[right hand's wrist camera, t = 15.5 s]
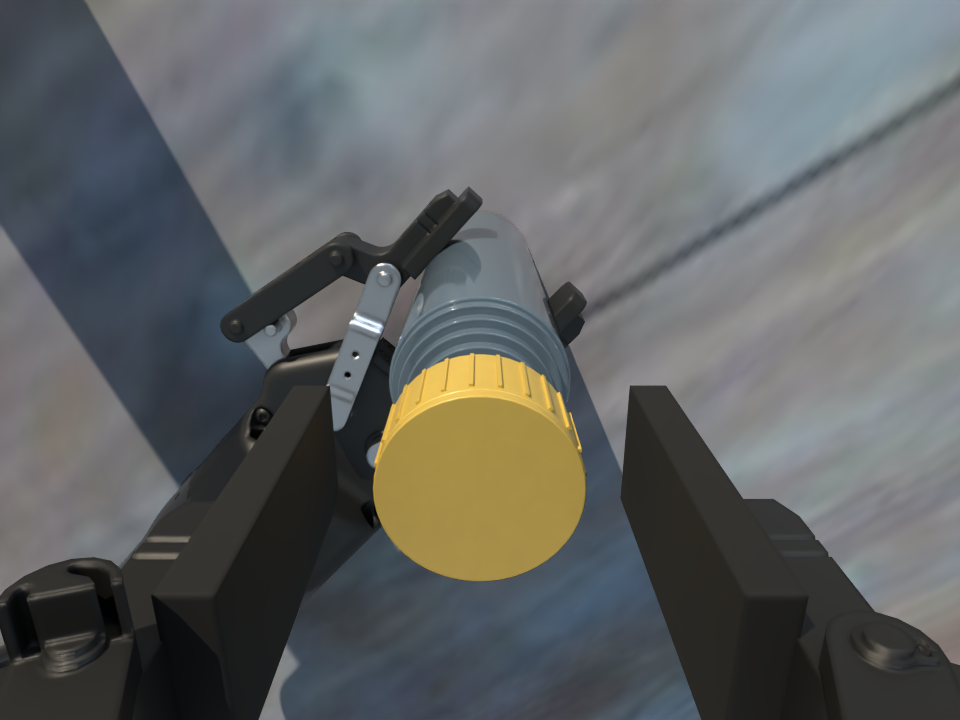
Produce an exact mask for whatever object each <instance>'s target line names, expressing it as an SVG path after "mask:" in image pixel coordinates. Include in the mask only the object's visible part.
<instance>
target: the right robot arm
mask: <svg viewBox="0 0 960 720" xmlns="http://www.w3.org/2000/svg"><path fill="white" fill-rule="evenodd" d="M338 500H339V488H338V476H337V464H336V452H335V440H334V428H333V416H332V404H331V392H330V386H293V388H292V389H291V391H290V392H289V394H288V395H287V397H286V398H285V400H284V401H283V403H282V404H281V406H280V407H279V408H278V410H277V411H276V413H275V414H274V416H273V417H272V419H271V420H270V422H269V423H268V425H267V426H266V428H265V429H264V431H263V432H262V433H261V435H260V436H259V438H258V439H257V441H256V442H255V444H254V445H253V447H252V448H251V450H250V451H249V453H248V454H247V455H246V457H245V458H244V460H243V461H242V463H241V464H240V466H239V467H238V469H237V470H236V472H235V473H234V475H233V476H232V477H231V479H230V480H229V482H228V483H227V485H226V486H225V488H224V489H223V491H222V492H221V494H220V495H219V497H218V498H217V499H216V501H186V502H185V503H183V504H182V505H180V506H179V507H177V508H176V509H174V510H173V511H171V512H170V513H168V514H167V515H165V516H164V517H162V518H161V519H160V520H159V522H158V523H157V524H156V526H155V527H154V528H153V529H152V531H151V532H150V533H149V534H148V536H147V537H146V538H145V542H142V543H141V545H140V546H139V547H138V548H137V550H136V551H135V552H134V554H133V555H132V559H129V560H128V561H127V562H126V564H125V565H124V566H123V568H122V569H120V568H119V567H118V566H117V565H115V564H114V563H113V562H112V561H109V560H104V559H99V558H94V557H92V558H79V559H70V560H66V561H63V562H59V563H55V564H51V565H48V566H45V567H43V568H41V569H39V570H37V571H35V572H32V573H30V574H28V575H26V576H24V577H23V578H21V579H20V580H18V581H17V582H15V583H14V584H13V585H11V586H10V587H8V588H7V589H6V590H5V591H4V592H3V593H2V594H1V596H0V630H1V633H2V636H3V640H4V643H5V646H6V649H7V653H8V656H9V659H10V665H9V666H7V667H3V668H0V720H258V719H259V717H260V714H261V711H262V709H263V706H264V703H265V700H266V698H267V695H268V692H269V689H270V687H271V684H272V681H273V678H274V676H275V673H276V670H277V667H278V665H279V662H280V659H281V656H282V654H283V651H284V648H285V646H286V643H287V640H288V637H289V635H290V632H291V629H292V626H293V624H294V621H295V618H296V615H297V613H298V610H299V607H300V604H301V602H302V599H303V596H304V594H305V591H306V588H307V585H308V583H309V580H310V577H311V574H312V572H313V569H314V566H315V563H316V561H317V558H318V555H319V552H320V550H321V547H322V544H323V541H324V539H325V536H326V533H327V531H328V528H329V525H330V522H331V520H332V517H333V514H334V511H335V509H336V506H337V503H338ZM621 500H622V503H623V506H624V509H625V511H626V514H627V517H628V520H629V522H630V525H631V528H632V531H633V533H634V536H635V539H636V541H637V544H638V547H639V550H640V552H641V555H642V558H643V561H644V563H645V566H646V569H647V572H648V574H649V577H650V580H651V583H652V585H653V588H654V591H655V594H656V596H657V599H658V602H659V604H660V607H661V610H662V613H663V615H664V618H665V621H666V624H667V626H668V629H669V632H670V635H671V637H672V640H673V643H674V646H675V648H676V651H677V654H678V657H679V659H680V662H681V665H682V667H683V670H684V673H685V676H686V678H687V681H688V684H689V687H690V689H691V692H692V695H693V698H694V700H695V703H696V706H697V709H698V711H699V714H700V717H701V719H702V720H960V665H957V664H953V663H950V661H949V660H948V658H947V657H946V655H945V654H944V652H943V651H942V650H941V648H940V647H939V645H938V644H936V643H935V642H934V641H933V640H931V639H930V638H929V637H928V636H927V635H925V634H924V633H923V632H922V631H920V630H919V629H917V628H915V627H913V626H911V625H909V624H907V623H905V622H903V621H901V620H899V619H897V618H894V617H890V616H887V615H884V614H880V613H877V612H875V611H874V610H873V609H872V607H871V606H870V605H869V604H868V602H867V601H866V600H865V599H864V597H863V596H862V595H861V594H860V592H859V591H858V590H857V589H856V587H855V586H854V585H853V583H852V582H851V581H850V580H849V578H848V577H847V576H846V575H845V573H844V572H843V571H842V570H841V568H840V567H839V566H838V565H837V563H836V562H835V561H834V559H833V558H832V557H829V556H828V552H827V551H826V549H825V548H824V547H823V546H822V544H821V543H820V542H819V541H818V540H815V535H814V534H813V533H812V532H811V530H810V529H809V528H808V527H807V525H806V524H805V523H804V522H803V520H802V519H801V518H800V516H798V515H797V514H795V513H794V512H792V511H791V510H789V509H788V508H786V507H785V506H783V505H782V504H780V503H779V502H777V501H776V500H774V499H743V498H742V497H741V495H740V494H739V492H738V491H737V489H736V488H735V486H734V485H733V483H732V482H731V480H730V479H729V477H728V476H727V475H726V473H725V472H724V470H723V469H722V467H721V466H720V464H719V463H718V461H717V460H716V458H715V457H714V455H713V454H712V453H711V451H710V450H709V448H708V447H707V445H706V444H705V442H704V441H703V439H702V438H701V436H700V435H699V433H698V432H697V431H696V429H695V428H694V426H693V425H692V423H691V422H690V420H689V419H688V417H687V416H686V414H685V413H684V411H683V410H682V409H681V407H680V406H679V404H678V403H677V401H676V400H675V398H674V397H673V395H672V394H671V392H670V391H669V389H668V388H667V386H630V391H629V404H628V416H627V428H626V440H625V452H624V464H623V476H622V488H621Z"/></svg>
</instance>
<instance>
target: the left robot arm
mask: <svg viewBox="0 0 960 720" xmlns="http://www.w3.org/2000/svg"><path fill="white" fill-rule="evenodd" d="M481 205H482V198H481V197H480V196H478V195H477V194H476V193H475V192H474V191H473V190H472V189H471V188H470V187H468V188H467V189H466V190H465V191H464V192H463V193H462V194H461V195H460V196H459V197H457V196H455V195H454V194H453V193H452V192H451V191H450V190H449V189H448V190H446V191H444V192H442V193H440V194H438V195H436V196H435V197H434V199H433V200H432V201H431V202H430V203H429V204H428V205H427V207H426V208H425V209H424V210H423V211H422V212H421V213H420V215H419V216H418V217H417V218H416V219H415V220H414V221H413V223H412V224H411V225H410V226H409V227H408V228H407V229H406V231H405V232H404V233H403V234H402V235H401V236H400V237H399V239H398V240H397V241H396V242H395V243H393V244H392V245H390V246H387V247H377V246H374V245H372V244H369V243H367V242H364V241H362V240H361V239H360V238H359V237H358V236H357V235H356V234H354V233H351V232H344V233H341V234H339V235H338V236H337V237H335V238H334V239H332V240H331V241H329V242H328V243H326V244H325V245H323V246H322V247H321V248H319V249H318V250H316V251H315V252H313V253H312V254H310V255H309V256H307V257H306V258H305V259H303V260H302V261H300V262H299V263H297V264H296V265H294V266H293V267H291V268H290V269H289V270H287V271H286V272H284V273H283V274H281V275H280V276H278V277H277V278H276V279H274V280H273V281H271V282H270V283H268V284H267V285H265V286H264V287H262V288H261V289H260V290H258V291H257V292H255V293H254V294H252V295H251V296H249V297H248V298H247V299H245V300H244V301H243V302H241V303H240V304H239V305H238V306H236V307H235V308H234V309H233V310H231V311H230V312H229V313H228V314H226V315H225V316H224V317H223V319H222V320H221V331H222V333H223V335H224V336H225V337H226V338H227V339H229V340H230V341H233V342H245V343H246V344H247V345H248V347H249V348H250V349H251V350H252V351H253V353H254V354H255V355H256V356H257V358H258V359H259V360H260V361H261V362H262V364H263V365H264V366H265V367H266V369H267V372H266V374H265V377H264V382H263V389H262V393H261V395H260V397H259V398H258V400H257V401H256V402H255V403H254V404H253V405H252V406H251V408H250V409H249V410H248V411H247V412H246V413H245V414H244V416H243V417H242V418H241V419H240V420H239V421H238V422H237V424H236V425H235V426H234V427H233V428H232V429H231V430H230V432H229V433H228V434H227V435H226V436H225V437H224V438H223V440H222V441H221V442H220V443H219V444H218V445H217V446H216V448H215V449H214V450H213V451H212V452H211V453H210V454H209V456H208V457H207V458H206V459H205V460H204V461H203V463H202V464H201V465H200V466H199V467H198V468H197V469H195V470H194V471H193V472H192V473H190V474H189V475H188V476H187V477H186V478H185V480H184V481H183V483H182V485H181V488H180V489H179V490H178V491H177V492H176V493H175V495H174V496H173V497H172V498H171V499H170V500H169V501H168V502H167V504H166V505H165V506H164V508H163V509H162V510H161V511H160V513H159V514H158V516H157V517H156V519H155V520H154V522H153V523H152V525H151V527H150V528H149V530H148V532H147V533H146V535H145V536H144V538H143V539H142V541H141V542H140V543H139V544H138V545H137V546H136V548H135V549H134V550H133V551H132V552H131V553H130V554H129V556H128V557H127V558H126V559H125V560H124V561H123V562H122V563H121V565H120V566H119V568H120V569H122V568H123V566H124V565H125V564H126V562H127V561H128V560H129V559H132V555H133V554H134V552H135V551H136V550H137V548H138V547H139V546H140V545H141V543H142V542H145V538H146V537H147V536H148V534H149V533H150V532H151V531H152V529H153V528H154V527H155V526H156V524H157V523H158V522H159V520H160V519H161V518H162V517H164V516H165V515H167V514H168V513H170V512H171V511H173V510H174V509H176V508H177V507H179V506H180V505H182V504H183V503H185V502H186V501H216V499H217V498H218V497H219V495H220V494H221V492H222V491H223V489H224V488H225V486H226V485H227V483H228V482H229V480H230V479H231V477H232V476H233V475H234V473H235V472H236V470H237V469H238V467H239V466H240V464H241V463H242V461H243V460H244V458H245V457H246V455H247V454H248V453H249V451H250V450H251V448H252V447H253V445H254V444H255V442H256V441H257V439H258V438H259V436H260V435H261V433H262V432H263V431H264V429H265V428H266V426H267V425H268V423H269V422H270V420H271V419H272V417H273V416H274V414H275V413H276V411H277V410H278V408H279V407H280V406H281V404H282V403H283V401H284V400H285V398H286V397H287V395H288V394H289V392H290V391H291V389H292V388H293V386H330V392H331V404H332V416H333V428H334V440H335V452H336V464H337V476H338V488H339V500H338V503H337V506H336V509H335V511H334V514H333V517H332V520H331V522H330V525H329V528H328V531H327V533H326V536H325V539H324V541H323V544H322V547H321V550H320V552H319V555H318V558H317V561H316V563H315V566H314V569H313V572H312V574H311V577H310V580H309V583H308V585H307V588H306V591H305V594H304V596H303V599H302V602H301V604H300V606H301V605H302V604H303V603H304V602H305V601H306V600H307V599H308V598H309V597H310V596H311V595H312V594H313V593H314V592H315V591H316V590H317V589H318V588H319V587H320V586H321V585H322V584H323V583H324V582H325V581H326V580H327V579H328V578H330V577H331V576H332V575H333V574H334V573H335V572H336V571H337V570H338V569H339V568H340V567H341V566H342V565H343V564H344V563H345V562H346V561H347V560H348V559H349V558H350V557H351V556H352V555H353V554H354V553H355V552H356V551H357V550H358V549H359V548H360V547H361V546H362V545H363V544H364V543H365V542H366V541H367V540H368V539H369V538H370V537H371V536H372V535H373V534H374V533H375V532H376V531H377V530H378V529H379V528H380V527H381V526H382V524H381V522H380V520H379V517H378V514H377V512H376V507H375V503H374V495H373V482H374V473H375V469H376V467H374V462H375V459H376V455H377V452H378V449H379V445H380V442H381V439H382V436H383V432H384V429H385V426H386V423H387V419H388V416H389V413H390V409H391V406H392V404H393V403H392V399H391V394H390V388H389V372H390V365H391V361H392V357H393V354H394V351H395V347H394V346H393V345H392V344H391V343H389V342H388V341H387V340H386V339H385V338H382V339H381V340H380V338H381V336H382V333H383V331H384V328H385V326H386V323H387V320H388V318H389V315H390V313H391V310H392V307H393V305H394V302H395V300H396V297H397V295H398V292H399V289H400V287H401V286H402V285H403V284H404V283H405V282H406V281H407V279H408V278H409V277H410V276H411V277H412V278H413V279H416V278H417V277H418V276H419V275H420V274H421V272H422V271H423V270H424V269H425V268H426V267H427V266H428V265H429V263H430V262H431V261H432V260H433V259H434V258H435V257H436V256H437V255H438V254H439V253H440V251H441V250H442V249H443V248H444V247H445V246H446V245H447V244H448V243H449V241H450V240H451V239H452V238H453V237H454V236H455V235H456V234H457V233H458V231H459V230H460V229H461V228H462V227H463V226H464V225H465V224H466V223H467V221H468V220H469V219H470V218H471V217H472V216H473V215H474V214H475V212H476V211H477V210H478V209H479V208H480V206H481ZM341 276H345V277H347V278H350V279H353V280H355V281H358V282H360V283H363V284H365V286H364V289H363V292H362V294H361V297H360V300H359V302H358V305H357V308H356V310H355V313H354V315H353V318H352V320H351V322H350V324H349V327H348V329H347V332H346V335H345V337H344V339H343V340H338V341H333V342H328V343H322V344H317V345H312V346H307V347H302V348H297V349H292V350H290V348H289V347H288V344H287V337H288V334H289V333H290V332H291V331H292V330H293V329H294V327H295V326H296V323H297V317H296V314H295V312H294V311H293V309H294V308H295V307H297V306H298V305H300V304H301V303H303V302H304V301H306V300H307V299H309V298H310V297H312V296H313V295H314V294H316V293H317V292H319V291H320V290H322V289H323V288H325V287H326V286H328V285H329V284H331V283H332V282H334V281H335V280H337V279H338V278H340V277H341ZM547 302H548V305H549V307H550V310H551V313H552V316H553V318H554V321H555V324H556V327H557V330H558V332H559V335H560V338H561V341H562V344H563V346H564V349H565V348H566V347H567V346H568V344H570V343H571V342H572V341H573V340H574V339H575V338H576V337H577V336H578V335H579V333H580V331H581V329H582V327H583V325H584V322H585V321H584V319H583V317H582V315H581V312H582V310H583V309H584V308H585V306H586V304H587V301H586V299H585V298H584V296H583V294H582V293H581V292H580V291H579V290H578V289H577V288H576V287H575V286H574V285H573V284H572V283H570V282H567V283H565V284H564V285H563V286H561V287H560V288H559V289H558V290H557V291H556V292H555V293H554V294H553V296H552V297H551V298H550V299H549V300H548V301H547ZM9 665H10V659H9V656H8V653H7V649H6V646H5V644H4V645H2V646H0V668H3V667H7V666H9Z"/></svg>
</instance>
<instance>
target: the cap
mask: <svg viewBox="0 0 960 720" xmlns="http://www.w3.org/2000/svg"><path fill="white" fill-rule="evenodd" d="M581 452H583V451H582V448H581V444H580V441H579V438H578V435H577V431H576V428H575V425H574V421H573V418H572V415H571V412H570V413H568V412H567V410H566V407H565V405H564V401H563V398H562V394H561V393H560V392H558V393H557V391H556V390H555V389H554V388H553V386H552V385H551V384H550V383H549V382H548V381H547V380H546V377H545V376H544V375H543V374H542V375H540V374H539V373H537V372H536V371H534V370H533V369H531V368H529V367H528V366H526V365H525V363H523V362H517V361H514V360H512V359H509V358H505V357H500V355H497V354H496V356H495V355H486V354H475V355H474V353H470V355H465V356H459V357H455V358H451V359H449V358H446V359H445V361H443V362H440V363H438V364H436V365H434V366H432V367H430V368H428V369H427V370H426V369H424V370H422V373H421V374H420V375H418V376H417V377H416V378H415V379H414V380H413V381H412V382H411V383H410V384H409V385H407V384H406V385H405V386H404V389H403V392H402V394H401V395H400V397H399V399H398V400H397V402H396V404H392V406H391V409H390V413H389V416H388V419H387V423H386V426H385V429H384V432H383V436H382V439H381V442H380V445H379V449H378V452H377V455H376V459H375V462H374V467H376V469H375V473H374V482H373V495H374V503H375V507H376V512H377V514H378V517H379V520H380V522H381V524H382V526H383V528H384V530H385V531H386V533H387V535H388V536H389V538H390V539H391V540H392V542H393V543H394V544H395V545H396V546H397V547H398V548H399V549H400V550H401V551H402V552H403V554H405V555H406V556H407V557H409V558H410V559H411V560H412V561H414V562H415V563H417V564H419V565H420V566H422V567H424V568H425V569H428V570H430V571H432V572H434V573H436V574H439V575H442V576H445V577H448V578H453V579H458V580H464V581H495V580H502V579H506V578H511V577H514V576H517V575H520V574H523V573H526V572H528V571H530V570H532V569H534V568H536V567H538V566H539V565H541V564H543V563H544V562H546V561H547V560H549V559H550V558H551V557H552V556H554V555H555V554H556V553H557V552H558V551H559V550H560V549H561V548H562V547H563V546H564V545H565V544H566V543H567V541H568V540H569V538H570V537H571V536H572V534H573V533H574V531H575V529H576V527H577V525H578V523H579V521H580V519H581V516H582V513H583V510H584V506H585V501H586V488H587V485H586V476H587V475H586V470H585V466H584V463H583V460H582V456H581Z"/></svg>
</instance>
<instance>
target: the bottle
mask: <svg viewBox="0 0 960 720" xmlns="http://www.w3.org/2000/svg"><path fill="white" fill-rule="evenodd" d="M470 353H474V355H475V354H486V355H495V356H496V354H497V355H500V357H505V358H509V359H512V360H514V361H517V362H523V363H525V365H526V366H528V367H529V368H531V369H533V370H534V371H536V372H537V373H539V374H540V375H542V374H543V375H544V376H545V377H546V380H547V381H548V382H549V383H550V384H551V385H552V386H553V388H554V389H555V390H556V391H557V393H558V392H560V393H561V394H562V398H563V401H564V405H565V407H566V405H567V401H568V398H569V392H570V380H571V376H570V367H569V362H568V358H567V355H566V352H565V349H564V346H563V344H562V341H561V338H560V335H559V332H558V330H557V327H556V324H555V321H554V318H553V316H552V313H551V310H550V307H549V305H548V302H547V299H546V296H545V293H544V291H543V288H542V285H541V282H540V279H539V277H538V274H537V271H536V268H535V266H534V263H533V260H532V257H531V254H530V252H529V249H528V246H527V244H526V241H525V239H524V237H523V235H522V234H521V232H520V231H519V230H518V228H517V227H516V226H515V225H514V224H513V223H511V222H510V221H509V220H507V219H506V218H504V217H502V216H500V215H497V214H494V213H490V212H484V211H476V212H475V214H474V215H473V216H472V217H471V218H470V219H469V220H468V221H467V223H466V224H465V225H464V226H463V227H462V228H461V229H460V230H459V231H458V233H457V234H456V235H455V236H454V237H453V238H452V239H451V240H450V241H449V243H448V244H447V245H446V246H445V247H444V248H443V249H442V250H441V251H440V253H439V254H438V255H437V256H436V257H435V258H434V259H433V260H432V261H431V262H430V263H429V265H428V266H427V267H426V268H425V269H424V270H423V273H422V276H421V278H420V281H419V284H418V287H417V290H416V292H415V295H414V298H413V301H412V304H411V306H410V309H409V312H408V315H407V318H406V320H405V323H404V326H403V329H402V331H401V334H400V337H399V340H398V343H397V345H396V348H395V351H394V354H393V357H392V361H391V365H390V372H389V388H390V394H391V399H392V403H393V404H396V402H397V400H398V399H399V397H400V395H401V394H402V392H403V389H404V386H405V385H406V384H407V385H409V384H410V383H411V382H412V381H413V380H414V379H415V378H416V377H417V376H418V375H420V374H421V373H422V370H424V369H426V370H427V369H428V368H430V367H432V366H434V365H436V364H438V363H440V362H443V361H445V359H446V358H449V359H451V358H455V357H459V356H465V355H470Z"/></svg>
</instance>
